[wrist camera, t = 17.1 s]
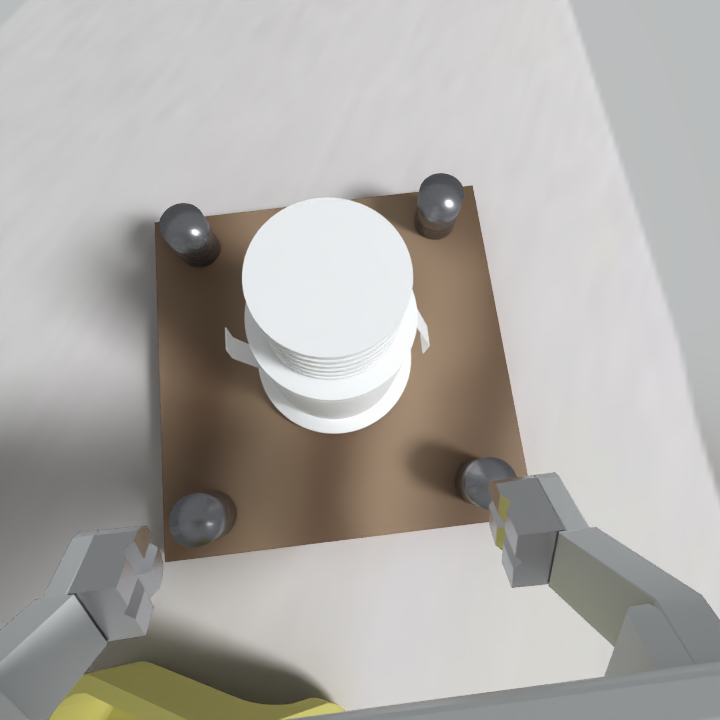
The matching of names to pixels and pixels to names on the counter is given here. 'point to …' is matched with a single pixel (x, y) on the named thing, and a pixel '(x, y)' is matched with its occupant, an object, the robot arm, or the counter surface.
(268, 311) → the recessed downlight
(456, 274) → the pin board
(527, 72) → the counter surface
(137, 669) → the plastic component
